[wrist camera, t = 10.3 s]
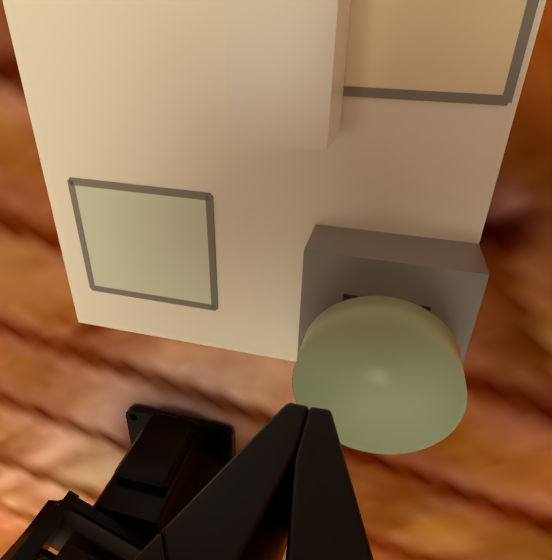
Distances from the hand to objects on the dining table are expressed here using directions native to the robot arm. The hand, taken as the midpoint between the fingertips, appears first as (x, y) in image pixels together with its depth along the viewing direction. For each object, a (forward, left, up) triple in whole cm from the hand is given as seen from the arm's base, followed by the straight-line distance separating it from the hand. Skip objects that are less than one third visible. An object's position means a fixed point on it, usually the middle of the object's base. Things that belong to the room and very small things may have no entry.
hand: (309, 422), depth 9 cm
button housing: (-3, -1, -11) cm, 11 cm away
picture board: (+3, +5, -11) cm, 12 cm away
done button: (-3, -1, -9) cm, 10 cm away
